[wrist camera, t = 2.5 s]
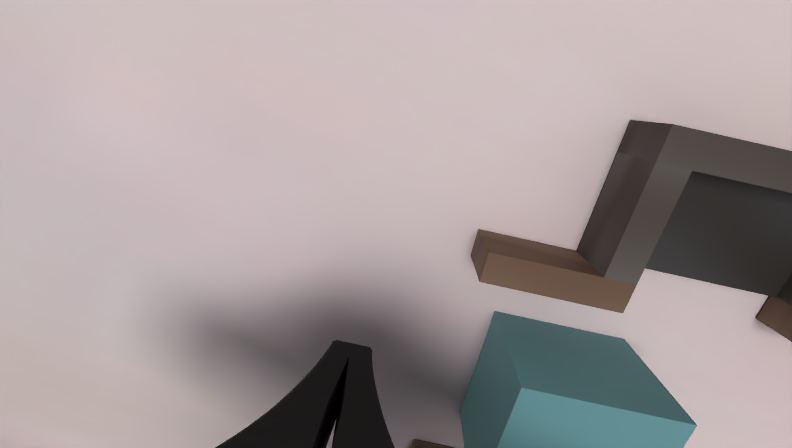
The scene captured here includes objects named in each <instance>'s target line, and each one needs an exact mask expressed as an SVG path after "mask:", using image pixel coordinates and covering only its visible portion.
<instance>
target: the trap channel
mask: <svg viewBox="0 0 792 448" xmlns="http://www.w3.org/2000/svg"><path fill="white" fill-rule="evenodd" d="M471 257H472V260H473V263H474V266H475V269H476V272H477V275H478V278H479V282H483V283H488V284H492V285H497V286H501V287H506V288H511V289H515V290H520V291H524V292H529V293H533V294H538V295H542V296H547V297H551V298H556V299H560V300H565V301H570V302H574V303H579V304H583V305H588V306H592V307H597V308H601V309H606V310H610V311H615V312H619V313H623V312H624V310H625V308H626V306H627V304H628V302H629V300H630V298H631V295H632V293H633V291H634V289H635V287H636V285H637V283H638V281H639V279H640V277H641V275H642V273H643V271H644V269H645V268H647V269H651V270H656V271H660V272H665V273H669V274H674V275H678V276H683V277H687V278H692V279H696V280H701V281H705V282H710V283H714V284H719V285H723V286H728V287H732V288H737V289H741V290H746V291H750V292H755V293H759V294H764V295H768V296H770V297H769V298H768V300H767V301H766V303H765V305H764V306H763V308H762V309H761V311H760V313H759V314H758V316H757V317H756V319H758V320H759V321H761V322H762V323H764V324H765V325H767V326H768V327H770V328H772V329H773V330H775V331H776V332H778V333H779V334H781V335H782V336H784V337H785V338H787V339H788V340H790V341H791V342H792V151H789V150H784V149H780V148H775V147H771V146H766V145H762V144H758V143H753V142H749V141H744V140H740V139H736V138H731V137H727V136H722V135H718V134H713V133H709V132H705V131H700V130H696V129H691V128H687V127H682V126H678V125H674V124H665V123H655V122H645V121H635V120H631V121H630V123H629V125H628V128H627V130H626V133H625V135H624V138H623V140H622V142H621V145H620V147H619V150H618V152H617V155H616V157H615V159H614V162H613V164H612V167H611V169H610V172H609V174H608V176H607V179H606V181H605V184H604V186H603V189H602V191H601V194H600V196H599V198H598V201H597V203H596V206H595V208H594V211H593V213H592V215H591V218H590V220H589V223H588V225H587V228H586V230H585V232H584V235H583V237H582V240H581V242H580V245H579V247H578V249H577V251H574V250H569V249H565V248H560V247H555V246H551V245H546V244H542V243H537V242H533V241H528V240H524V239H519V238H515V237H510V236H506V235H501V234H497V233H492V232H488V231H483V230H479V231H478V234H477V237H476V240H475V244H474V247H473V250H472V253H471ZM412 448H451V447H447V446H442V445H437V444H433V443H428V442H423V441H419V440H414V442H413V445H412Z"/></svg>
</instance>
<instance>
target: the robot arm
mask: <svg viewBox="0 0 792 448" xmlns="http://www.w3.org/2000/svg"><path fill="white" fill-rule="evenodd" d="M336 417H337V418H336ZM335 420H336V424H335V430H334V437H333V443H332V448H395V447H394V445H393V442H392V440H391V437H390V435H389V432H388V429H387V426H386V423H385V420H384V417H383V414H382V410H381V407H380V403H379V399H378V395H377V390H376V386H375V381H374V375H373V367H372V350H371V348H370V347H366V346H361V345H357V344H352V343H348V342H343V341H338V340H336V341H334V342H332V344H331V346H330V347H329V349H328V350H327V352H326V353H325V354H324V356H323V357H322V358H321V359H320V361H319V362H318V363H317V364H316V365H315V367H314V368H313V369H312V370H311V371H310V372H309V373H308V374H307V376H306V377H305V378H304V379H303V380H302V381H301V382H300V383H299V384H298V385H297V386H296V387H295V388H294V389H293V390H292V391H291V392H290V393H289V394H288V395H286V396H285V397H284V398H283V399H282V400H281V401H280V402H279V403H277V404H276V405H275V406H274V407H273V408H271V409H270V410H269V411H268V412H267V413H265V414H264V415H263V416H261V417H260V418H259V419H257V420H256V421H255V422H253V423H252V424H251V425H249V426H248V427H247V428H245V429H244V430H242V431H241V432H239V433H238V434H236V435H235V436H233V437H231V438H230V439H228V440H227V441H225V442H224V443H222V444H220V445H219V446H217V447H216V448H326V446H327V443H328V440H329V437H330V434H331V432H332V429H333V426H334V423H335Z"/></svg>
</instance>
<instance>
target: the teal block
mask: <svg viewBox="0 0 792 448" xmlns="http://www.w3.org/2000/svg"><path fill="white" fill-rule="evenodd" d="M460 415H461V423H462V431H463V439H464V446H465V448H683V447H684V445H685V444H686V442H687V441H688V439H689V437H690V436H691V434H692V433H693V431H694V430H695V428H696V426H697V425H696V423H695V422H694V421H693V420H692V419H691V417H690V416H689V415H688V414H687V413H686V412H685V410H684V409H683V408H682V407H681V406H680V404H679V403H678V402H677V401H676V400H675V399H674V397H673V396H672V395H671V394H670V393H669V392H668V390H667V389H666V388H665V387H664V386H663V384H662V383H661V382H660V381H659V380H658V379H657V377H656V376H655V375H654V374H653V373H652V371H651V370H650V369H649V368H648V367H647V366H646V364H645V363H644V362H643V361H642V360H641V358H640V357H639V356H638V355H637V354H636V353H635V351H634V350H633V349H632V348H631V347H630V345H629V344H628V343H627V342H626V341H625V340H624V339H621V338H617V337H612V336H608V335H603V334H598V333H594V332H589V331H584V330H580V329H575V328H571V327H566V326H561V325H557V324H552V323H547V322H543V321H538V320H533V319H529V318H524V317H520V316H515V315H510V314H506V313H501V312H496V311H495V312H494V315H493V318H492V321H491V324H490V326H489V329H488V332H487V335H486V338H485V341H484V344H483V347H482V350H481V353H480V355H479V358H478V361H477V364H476V367H475V370H474V373H473V376H472V379H471V381H470V384H469V387H468V390H467V393H466V396H465V399H464V402H463V405H462V408H461V410H460Z"/></svg>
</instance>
